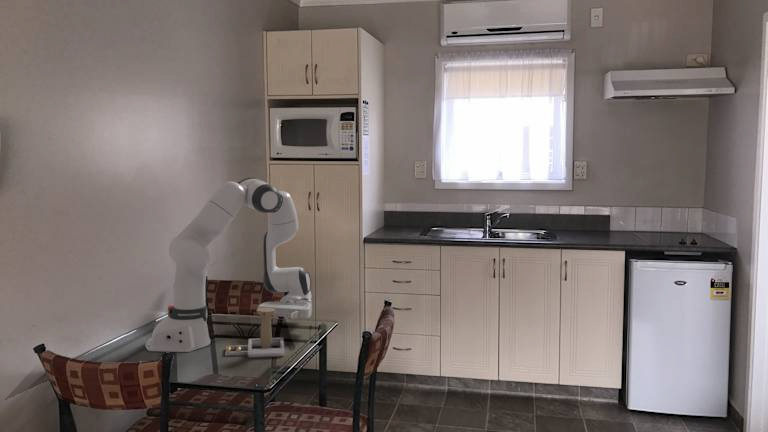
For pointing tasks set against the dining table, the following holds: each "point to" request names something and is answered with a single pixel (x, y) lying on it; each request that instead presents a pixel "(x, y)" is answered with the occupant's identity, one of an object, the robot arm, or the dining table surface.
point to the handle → (265, 326)
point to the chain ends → (257, 352)
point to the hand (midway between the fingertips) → (277, 315)
